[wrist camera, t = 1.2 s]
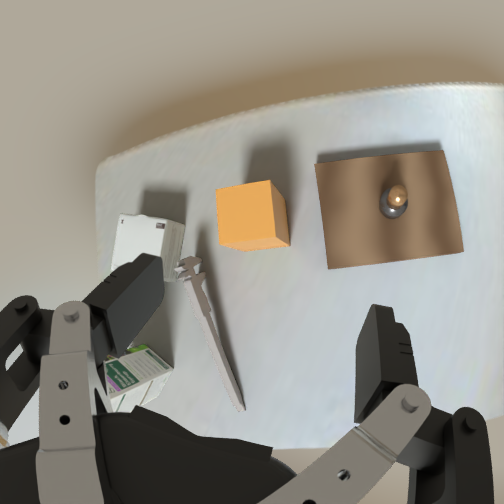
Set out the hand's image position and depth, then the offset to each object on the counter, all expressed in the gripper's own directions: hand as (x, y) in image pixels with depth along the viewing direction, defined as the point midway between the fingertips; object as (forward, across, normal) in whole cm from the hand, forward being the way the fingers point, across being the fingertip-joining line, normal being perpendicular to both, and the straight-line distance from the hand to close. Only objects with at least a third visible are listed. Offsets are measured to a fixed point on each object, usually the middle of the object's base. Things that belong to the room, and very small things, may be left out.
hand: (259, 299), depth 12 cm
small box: (+24, +18, +15) cm, 34 cm away
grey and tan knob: (+24, -10, +3) cm, 26 cm away
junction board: (+26, -10, +4) cm, 28 cm away
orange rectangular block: (+25, +4, +9) cm, 27 cm away
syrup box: (+15, +16, +29) cm, 36 cm away
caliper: (+18, +7, +22) cm, 29 cm away
